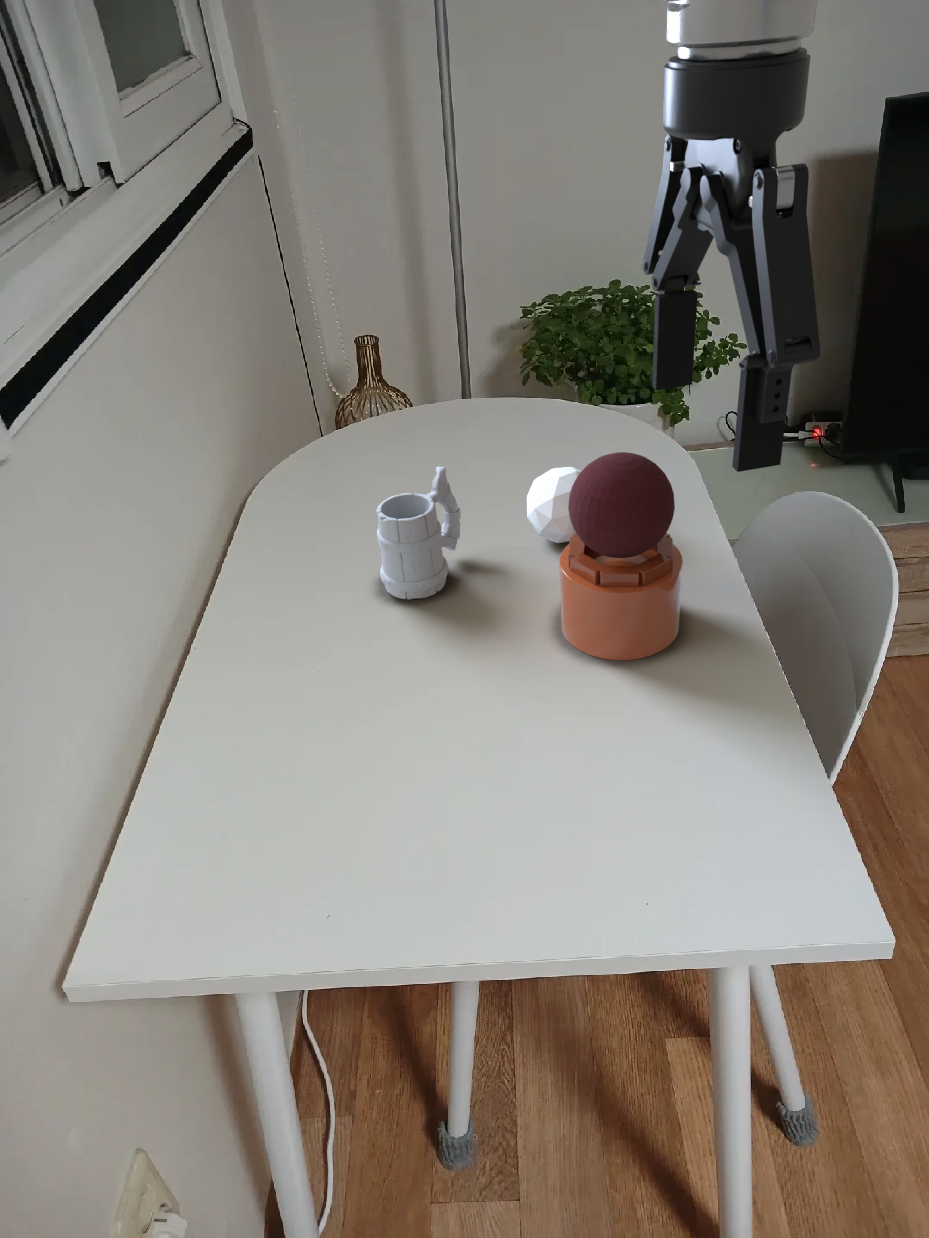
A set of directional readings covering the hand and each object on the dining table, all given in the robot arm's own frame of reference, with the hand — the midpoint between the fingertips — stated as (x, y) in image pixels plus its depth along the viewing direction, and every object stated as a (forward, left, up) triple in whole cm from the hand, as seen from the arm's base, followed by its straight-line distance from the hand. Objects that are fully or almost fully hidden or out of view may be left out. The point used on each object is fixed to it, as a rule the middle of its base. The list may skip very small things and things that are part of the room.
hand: (710, 422), depth 63 cm
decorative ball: (+21, +6, -23) cm, 32 cm away
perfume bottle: (+40, +12, -32) cm, 53 cm away
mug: (+30, +28, -32) cm, 52 cm away
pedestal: (+21, +6, -32) cm, 39 cm away
